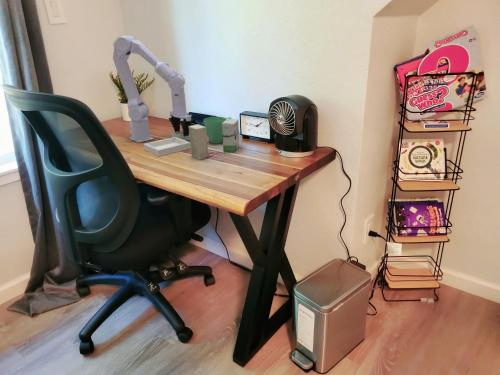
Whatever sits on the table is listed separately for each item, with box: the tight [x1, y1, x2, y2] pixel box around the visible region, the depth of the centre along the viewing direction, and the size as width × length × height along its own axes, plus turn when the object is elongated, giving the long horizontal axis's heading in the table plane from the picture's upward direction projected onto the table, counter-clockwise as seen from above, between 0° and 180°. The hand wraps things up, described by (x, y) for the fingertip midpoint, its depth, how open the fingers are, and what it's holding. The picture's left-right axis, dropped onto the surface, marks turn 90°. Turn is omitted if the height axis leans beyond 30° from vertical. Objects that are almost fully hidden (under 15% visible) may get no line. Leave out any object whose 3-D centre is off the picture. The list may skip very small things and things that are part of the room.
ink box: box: [222, 118, 240, 153], centre depth 158 cm, size 9×5×12 cm, turn 168°
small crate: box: [170, 130, 190, 141], centre depth 175 cm, size 5×8×4 cm, turn 131°
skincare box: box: [189, 124, 209, 161], centre depth 150 cm, size 6×4×12 cm
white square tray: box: [143, 137, 191, 157], centre depth 162 cm, size 12×15×2 cm
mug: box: [203, 116, 233, 145], centre depth 170 cm, size 15×10×10 cm
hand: (181, 134), depth 175 cm, fingers open, 7 cm apart
